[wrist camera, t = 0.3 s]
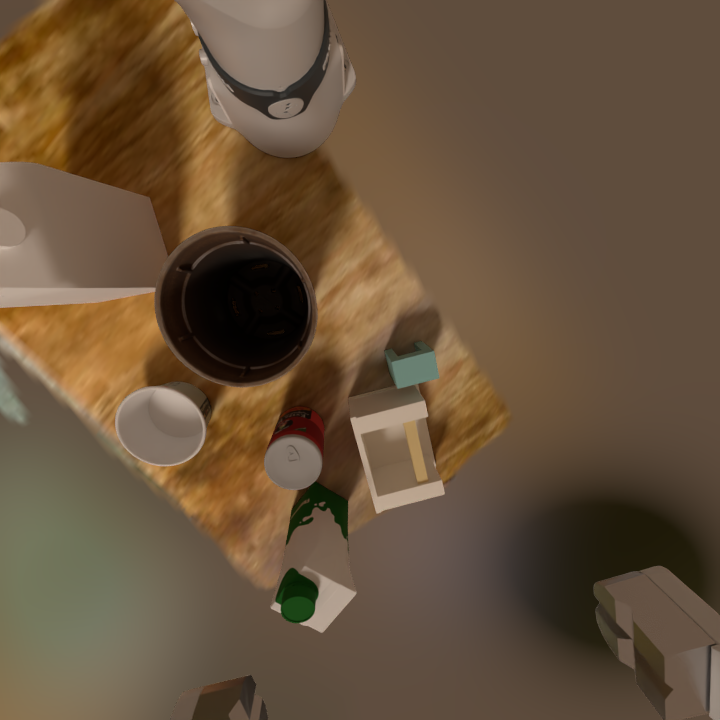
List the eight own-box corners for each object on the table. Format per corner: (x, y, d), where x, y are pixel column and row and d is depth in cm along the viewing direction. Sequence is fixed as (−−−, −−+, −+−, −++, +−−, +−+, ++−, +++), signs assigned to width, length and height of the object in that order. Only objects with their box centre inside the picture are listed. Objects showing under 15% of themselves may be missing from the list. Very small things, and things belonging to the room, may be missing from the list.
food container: (194, 359, 52) (175, 371, 46) (234, 425, 55) (221, 445, 49) (124, 392, 52) (95, 409, 46) (168, 456, 56) (147, 479, 49)
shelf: (347, 397, 55) (350, 418, 47) (416, 379, 55) (430, 397, 48) (371, 482, 59) (376, 513, 52) (435, 465, 59) (450, 494, 52)
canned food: (310, 396, 55) (304, 426, 44) (333, 437, 57) (333, 475, 46) (267, 417, 55) (251, 452, 44) (292, 457, 57) (282, 499, 46)
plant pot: (189, 264, 49) (121, 261, 33) (296, 223, 48) (278, 200, 33) (240, 368, 53) (200, 408, 37) (338, 330, 52) (340, 355, 37)
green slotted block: (384, 350, 54) (391, 362, 47) (421, 341, 54) (434, 351, 47) (389, 374, 55) (397, 388, 48) (426, 364, 55) (439, 378, 48)
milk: (63, 212, 46) (-265, 142, 21) (149, 197, 46) (-72, 109, 21) (97, 302, 49) (-153, 335, 24) (177, 287, 49) (14, 304, 24)
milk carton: (313, 474, 58) (302, 574, 39) (356, 500, 60) (366, 608, 41) (283, 511, 60) (259, 626, 40) (326, 535, 61) (323, 657, 42)
